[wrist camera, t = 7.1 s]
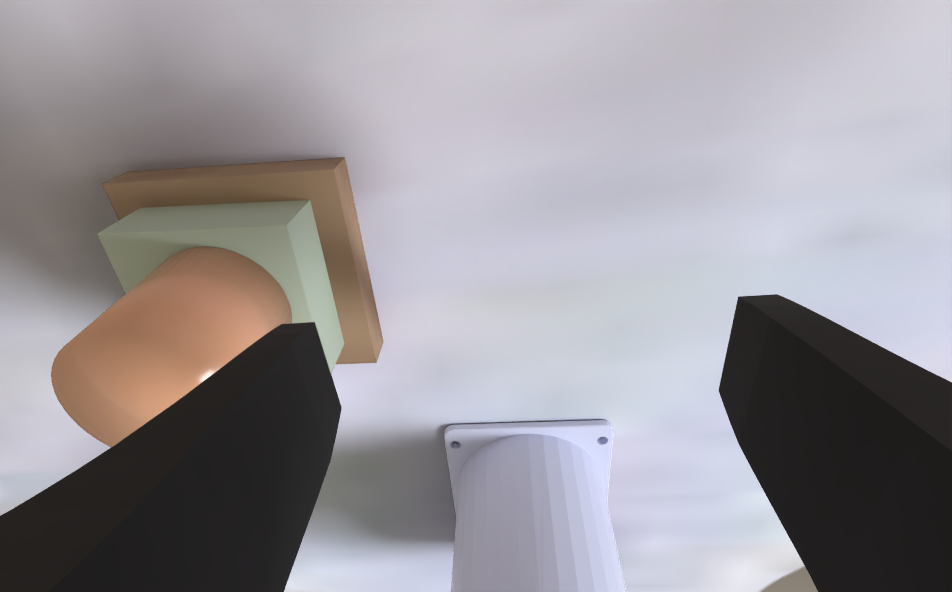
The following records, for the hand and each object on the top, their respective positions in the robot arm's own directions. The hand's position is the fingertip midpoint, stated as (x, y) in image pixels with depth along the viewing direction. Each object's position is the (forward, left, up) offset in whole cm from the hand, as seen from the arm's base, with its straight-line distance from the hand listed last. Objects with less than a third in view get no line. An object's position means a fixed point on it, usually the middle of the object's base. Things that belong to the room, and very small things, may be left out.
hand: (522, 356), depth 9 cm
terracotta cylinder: (-3, +10, -7) cm, 12 cm away
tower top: (-3, +10, -9) cm, 14 cm away
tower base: (-3, +10, -11) cm, 15 cm away
